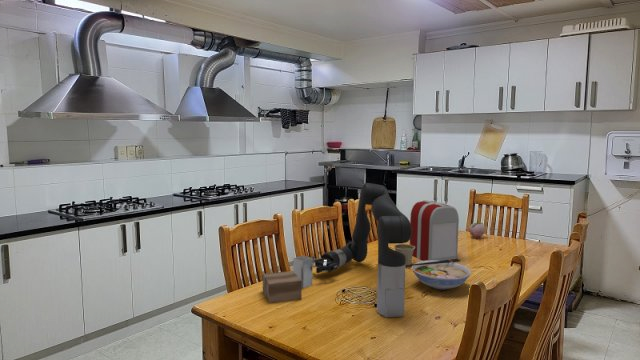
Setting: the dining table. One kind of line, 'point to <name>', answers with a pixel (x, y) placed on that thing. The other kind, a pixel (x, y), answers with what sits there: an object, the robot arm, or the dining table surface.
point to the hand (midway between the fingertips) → (308, 268)
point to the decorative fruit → (477, 229)
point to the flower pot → (405, 251)
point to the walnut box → (282, 286)
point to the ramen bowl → (441, 273)
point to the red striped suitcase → (434, 231)
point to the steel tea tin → (303, 269)
